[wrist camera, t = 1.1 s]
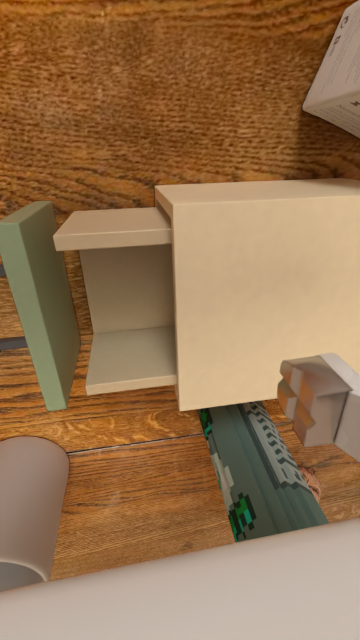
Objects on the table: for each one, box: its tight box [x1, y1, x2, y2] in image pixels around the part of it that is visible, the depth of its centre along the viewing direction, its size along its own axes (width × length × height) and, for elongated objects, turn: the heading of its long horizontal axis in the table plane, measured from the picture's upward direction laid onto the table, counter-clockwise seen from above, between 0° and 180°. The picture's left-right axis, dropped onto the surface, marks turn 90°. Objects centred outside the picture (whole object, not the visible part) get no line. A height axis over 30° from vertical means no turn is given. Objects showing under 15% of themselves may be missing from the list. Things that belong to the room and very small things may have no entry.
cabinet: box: [154, 178, 360, 411], centre depth 22 cm, size 15×13×10 cm
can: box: [197, 401, 329, 542], centre depth 27 cm, size 6×6×15 cm
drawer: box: [0, 201, 177, 411], centre depth 21 cm, size 18×11×8 cm, turn 91°
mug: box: [0, 436, 70, 591], centre depth 29 cm, size 12×8×11 cm
